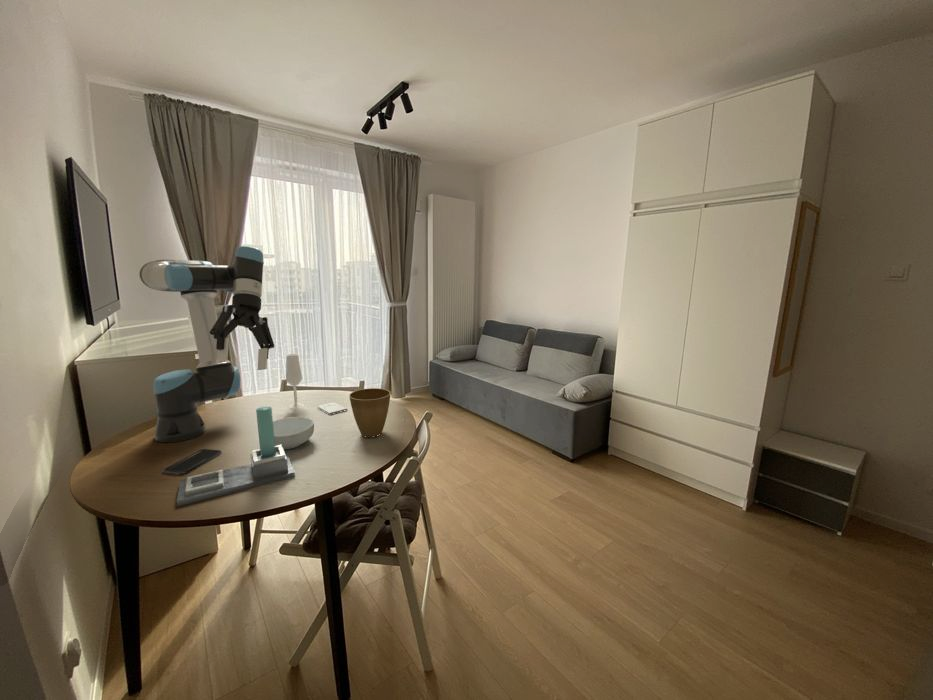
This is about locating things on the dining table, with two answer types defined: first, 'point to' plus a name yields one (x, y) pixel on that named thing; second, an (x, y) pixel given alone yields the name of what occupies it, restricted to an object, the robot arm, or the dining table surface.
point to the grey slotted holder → (236, 477)
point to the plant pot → (370, 410)
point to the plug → (266, 432)
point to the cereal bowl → (292, 431)
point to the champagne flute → (293, 375)
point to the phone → (192, 462)
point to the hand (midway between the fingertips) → (243, 366)
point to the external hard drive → (331, 408)
